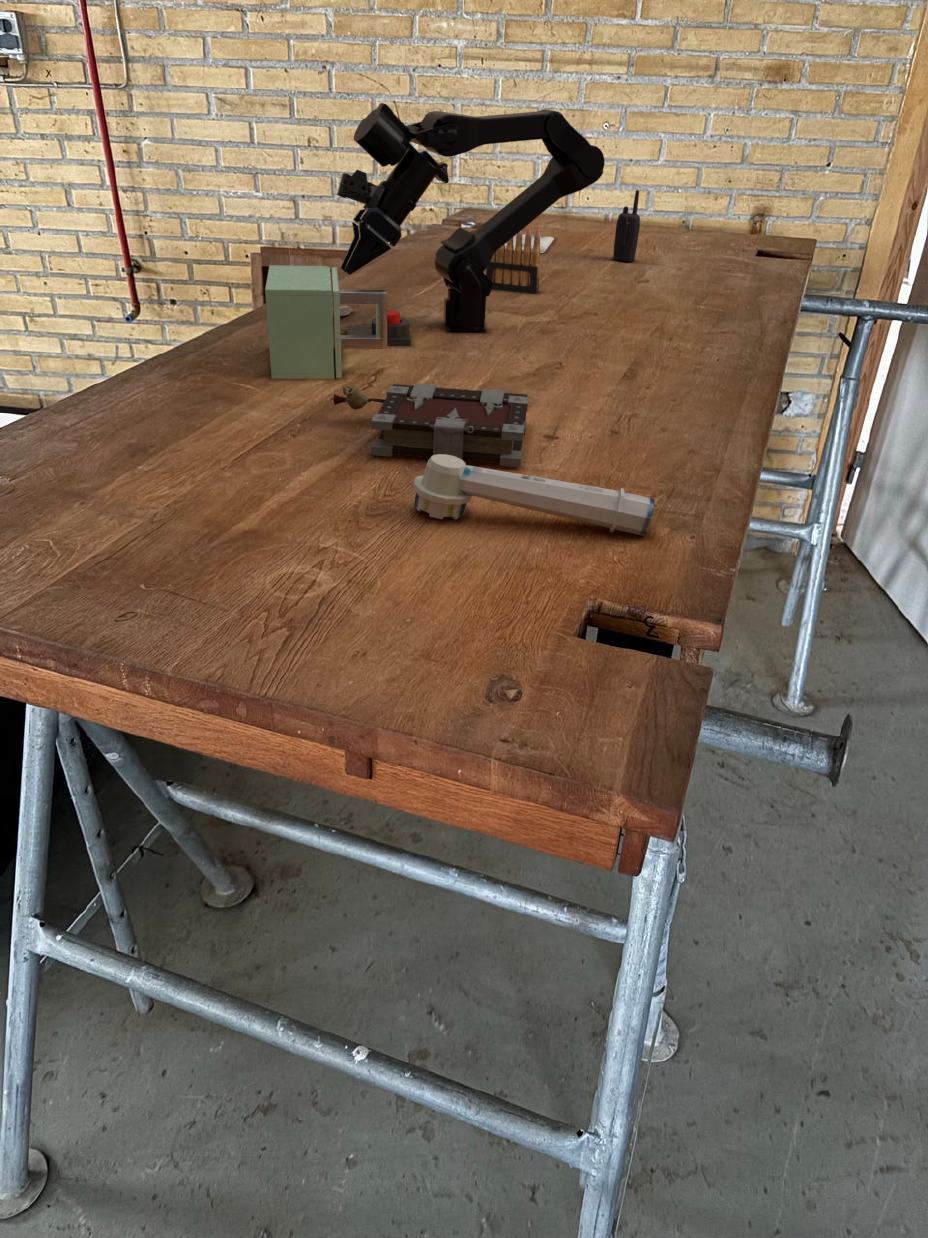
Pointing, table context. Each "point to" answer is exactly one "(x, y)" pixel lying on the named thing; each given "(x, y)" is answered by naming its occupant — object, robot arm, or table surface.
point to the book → (447, 422)
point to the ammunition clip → (516, 265)
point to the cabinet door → (358, 340)
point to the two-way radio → (627, 233)
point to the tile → (544, 242)
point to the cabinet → (300, 322)
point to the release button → (393, 317)
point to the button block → (395, 332)
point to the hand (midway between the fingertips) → (344, 271)
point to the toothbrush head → (527, 495)
